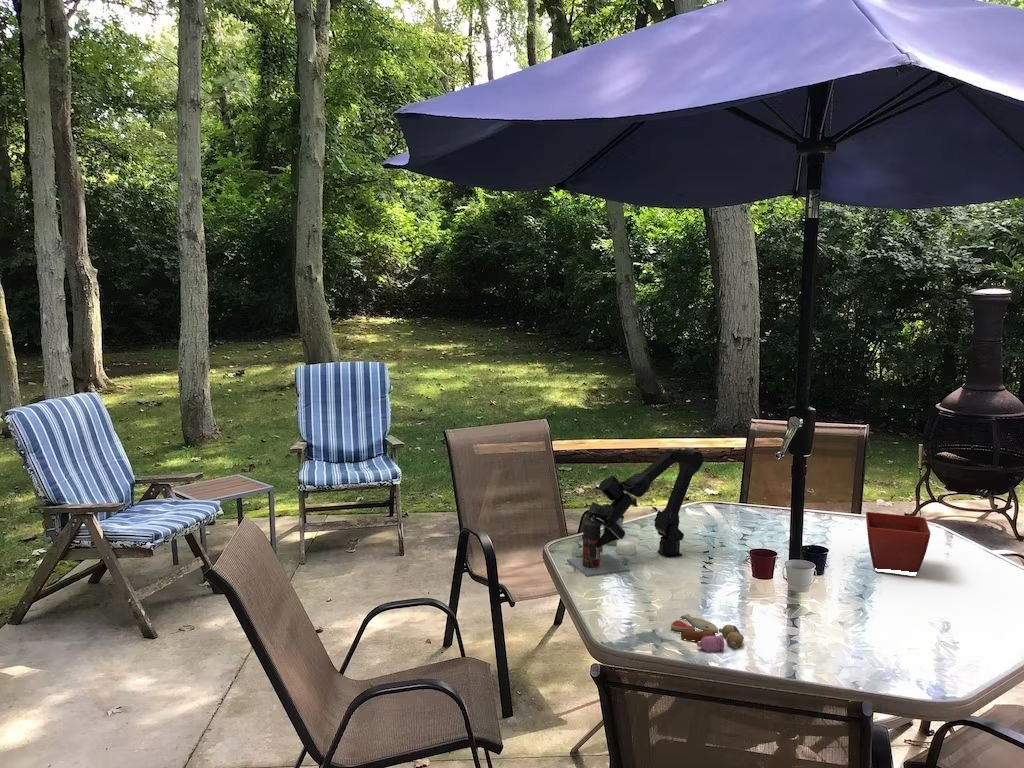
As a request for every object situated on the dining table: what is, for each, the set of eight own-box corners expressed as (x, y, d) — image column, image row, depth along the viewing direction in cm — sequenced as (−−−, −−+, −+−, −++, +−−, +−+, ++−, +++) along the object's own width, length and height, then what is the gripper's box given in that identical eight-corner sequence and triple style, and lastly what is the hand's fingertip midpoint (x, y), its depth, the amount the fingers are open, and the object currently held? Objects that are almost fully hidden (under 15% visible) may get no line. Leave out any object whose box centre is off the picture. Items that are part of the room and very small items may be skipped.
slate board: (607, 555, 290) (607, 553, 290) (629, 570, 276) (629, 569, 275) (567, 560, 285) (567, 559, 285) (587, 576, 270) (587, 575, 270)
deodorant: (586, 560, 283) (587, 519, 281) (602, 563, 280) (603, 522, 278) (579, 566, 278) (580, 524, 276) (595, 569, 275) (596, 526, 273)
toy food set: (765, 647, 221) (765, 633, 220) (730, 666, 210) (731, 651, 209) (687, 617, 240) (688, 604, 239) (652, 633, 229) (653, 619, 229)
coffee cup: (623, 539, 308) (623, 509, 306) (623, 547, 300) (624, 515, 298) (600, 538, 309) (601, 508, 307) (600, 546, 300) (601, 514, 299)
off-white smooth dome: (630, 548, 299) (630, 537, 298) (639, 554, 292) (639, 543, 292) (613, 550, 296) (613, 540, 296) (622, 556, 290) (622, 546, 289)
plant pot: (864, 574, 274) (867, 526, 271) (862, 556, 291) (865, 511, 289) (927, 582, 267) (931, 533, 264) (921, 563, 284) (925, 517, 282)
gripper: (590, 487, 286) (562, 521, 283) (618, 501, 269) (588, 537, 266) (608, 506, 290) (581, 540, 287) (637, 521, 274) (608, 556, 270)
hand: (589, 542), depth 278 cm, fingers open, 9 cm apart
